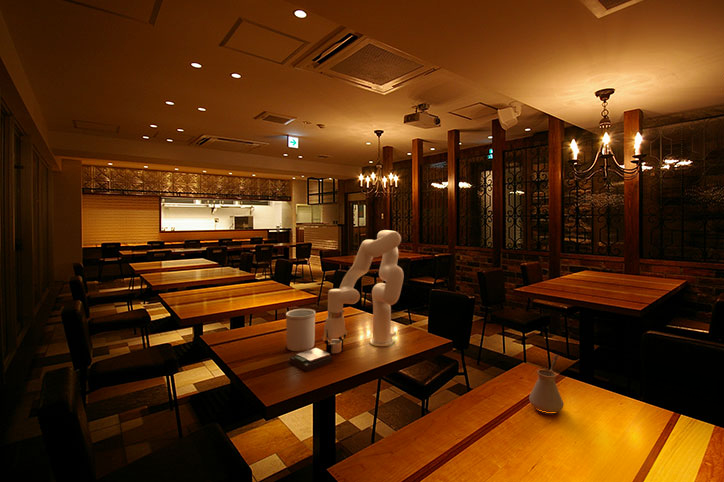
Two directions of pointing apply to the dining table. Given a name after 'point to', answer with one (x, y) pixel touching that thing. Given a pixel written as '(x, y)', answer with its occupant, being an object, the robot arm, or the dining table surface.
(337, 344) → the bowl
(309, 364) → the scale
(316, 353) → the scale pan
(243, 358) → the dining table surface
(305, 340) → the utensil holder
